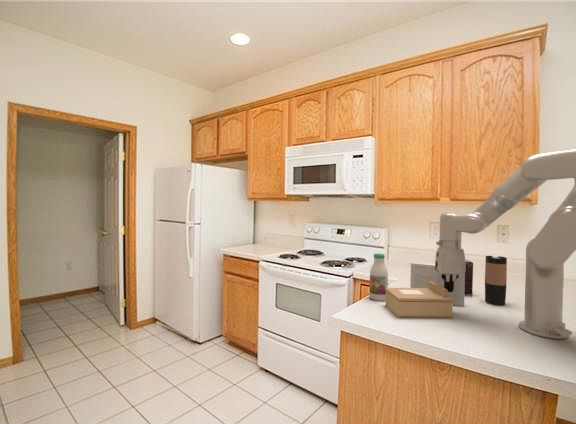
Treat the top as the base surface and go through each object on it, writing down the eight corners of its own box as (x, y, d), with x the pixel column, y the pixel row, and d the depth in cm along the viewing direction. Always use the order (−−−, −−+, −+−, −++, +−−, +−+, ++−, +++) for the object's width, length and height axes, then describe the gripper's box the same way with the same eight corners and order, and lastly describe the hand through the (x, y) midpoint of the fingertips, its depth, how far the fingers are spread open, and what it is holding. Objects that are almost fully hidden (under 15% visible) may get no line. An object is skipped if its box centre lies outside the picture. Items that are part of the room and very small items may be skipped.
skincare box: (464, 303, 126) (465, 266, 126) (463, 307, 122) (464, 268, 122) (412, 295, 138) (412, 261, 138) (409, 297, 133) (410, 262, 133)
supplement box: (473, 296, 136) (473, 262, 136) (461, 295, 137) (462, 261, 137) (465, 291, 145) (466, 259, 145) (455, 290, 146) (455, 258, 146)
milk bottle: (373, 295, 137) (374, 252, 137) (390, 298, 132) (391, 254, 132) (366, 298, 131) (367, 254, 131) (383, 302, 126) (384, 256, 126)
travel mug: (496, 306, 123) (497, 258, 122) (480, 301, 130) (481, 255, 130) (510, 305, 125) (511, 258, 124) (493, 299, 132) (494, 255, 132)
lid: (453, 301, 109) (453, 290, 108) (398, 301, 108) (398, 290, 108) (433, 290, 123) (433, 281, 123) (385, 290, 123) (385, 280, 123)
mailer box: (452, 318, 109) (452, 302, 109) (398, 317, 109) (398, 301, 108) (433, 305, 123) (433, 291, 123) (385, 305, 123) (385, 290, 122)
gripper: (436, 245, 112) (434, 293, 112) (475, 246, 112) (473, 294, 112) (426, 243, 119) (425, 288, 120) (463, 243, 119) (461, 288, 120)
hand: (448, 291), depth 116 cm, fingers closed
